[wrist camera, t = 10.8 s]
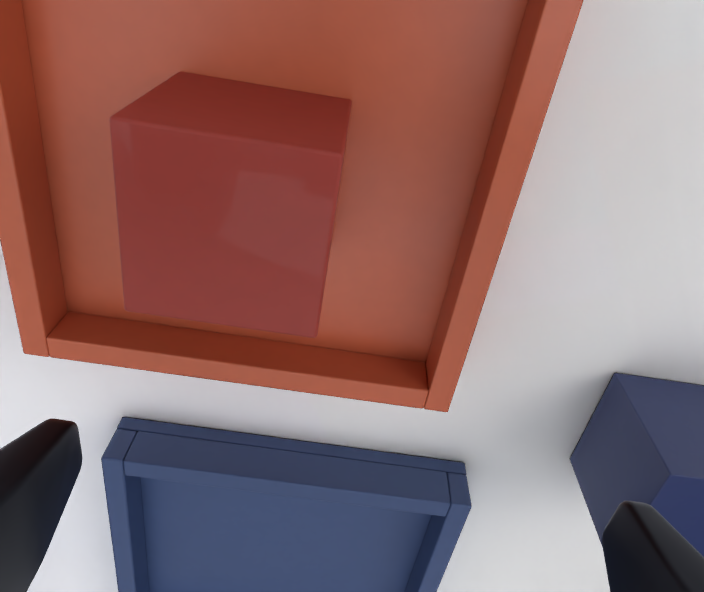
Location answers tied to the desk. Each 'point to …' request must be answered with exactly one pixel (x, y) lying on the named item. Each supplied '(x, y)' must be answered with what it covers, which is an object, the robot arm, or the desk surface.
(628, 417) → the blue block
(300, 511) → the blue tray
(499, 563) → the desk surface
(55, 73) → the red tray
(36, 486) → the robot arm
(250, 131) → the red block
